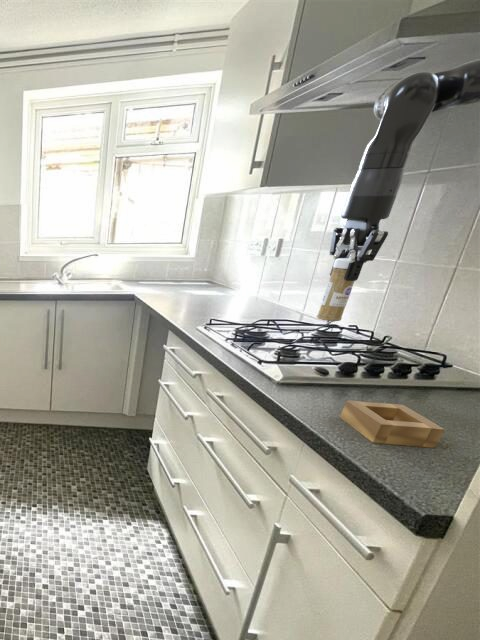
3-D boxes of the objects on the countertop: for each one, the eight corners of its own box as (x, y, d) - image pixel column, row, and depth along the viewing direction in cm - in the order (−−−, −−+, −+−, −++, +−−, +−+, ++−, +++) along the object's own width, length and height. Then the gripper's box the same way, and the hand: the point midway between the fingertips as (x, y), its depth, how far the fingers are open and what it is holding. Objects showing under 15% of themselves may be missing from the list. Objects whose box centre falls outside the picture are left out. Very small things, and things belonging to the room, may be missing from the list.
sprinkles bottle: (335, 322, 93) (357, 260, 87) (311, 318, 97) (331, 258, 91) (344, 320, 95) (366, 259, 90) (321, 315, 99) (341, 257, 93)
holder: (394, 421, 85) (402, 404, 84) (434, 448, 76) (445, 429, 75) (339, 417, 87) (346, 400, 85) (372, 442, 78) (381, 424, 76)
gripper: (421, 193, 78) (385, 284, 85) (369, 194, 91) (342, 273, 98) (374, 193, 79) (343, 284, 86) (330, 194, 92) (306, 273, 99)
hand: (342, 278), depth 92 cm, fingers closed on sprinkles bottle, 4 cm apart
